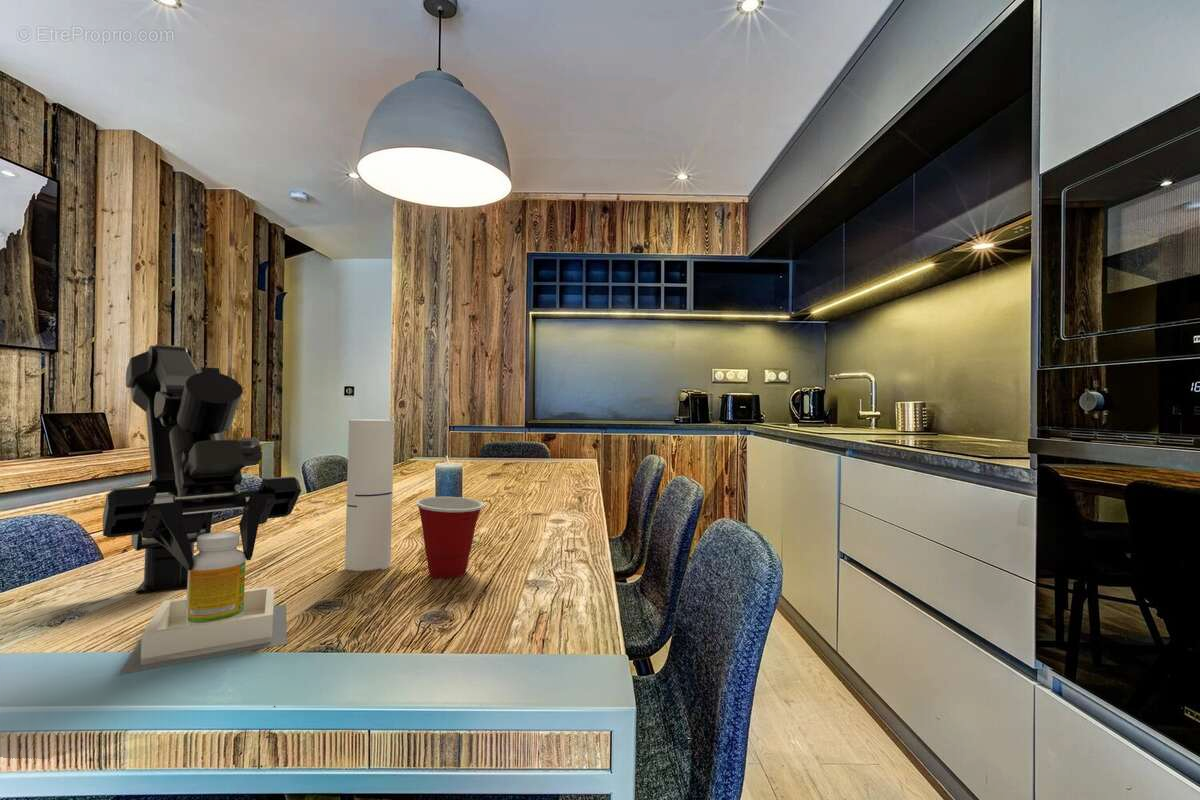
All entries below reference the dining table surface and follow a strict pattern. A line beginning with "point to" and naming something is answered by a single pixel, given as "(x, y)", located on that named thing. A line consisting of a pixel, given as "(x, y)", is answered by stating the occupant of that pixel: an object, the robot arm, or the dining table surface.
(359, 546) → the cylindrical container
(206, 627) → the dish
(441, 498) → the plastic cup
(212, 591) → the supplement bottle
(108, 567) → the dining table surface
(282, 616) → the mat
